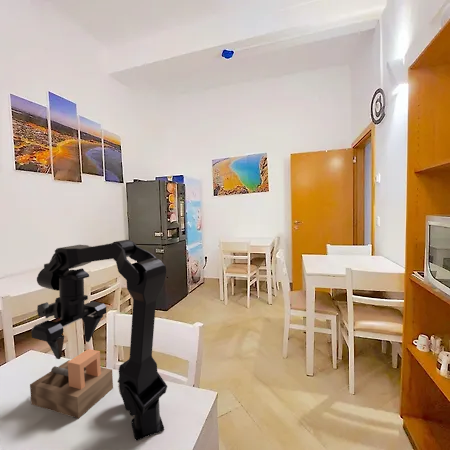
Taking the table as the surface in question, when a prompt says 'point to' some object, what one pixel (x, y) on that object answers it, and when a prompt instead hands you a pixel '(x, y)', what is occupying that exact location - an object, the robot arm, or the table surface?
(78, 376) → the staple
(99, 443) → the table surface
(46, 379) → the wooden divided tray
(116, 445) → the table surface
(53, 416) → the table surface
